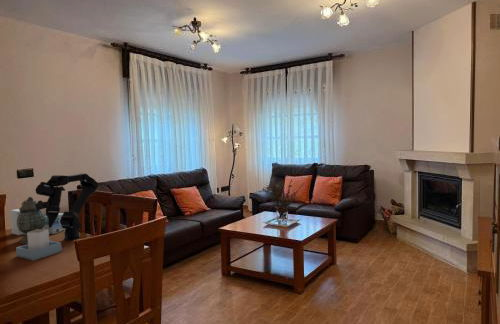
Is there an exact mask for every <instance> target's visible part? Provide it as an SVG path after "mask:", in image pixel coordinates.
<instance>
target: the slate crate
mask: <svg viewBox="0 0 500 324" xmlns="http://www.w3.org/2000/svg"><path fill="white" fill-rule="evenodd" d="M49 244H50V246H47V247H44V248H41V249H37V250H34V251H32V250H28V243H26V244H25V245H20V246H16V248H15V249H16V251H15V252H16V257H18V258H21V259H24V260H25V259H26V260H29V261H33V262H34V261H37V260H39V259H42V258H45V257H49V256H51V255H54V254H55V255H56V254H58V253H62V251H63V250H62V248H63V247H62V242H57V241H53V240H49Z"/></svg>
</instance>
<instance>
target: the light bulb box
mask: <svg viewBox="0 0 500 324" xmlns="http://www.w3.org/2000/svg"><path fill="white" fill-rule="evenodd" d="M63 213H64V212H63ZM63 213H62V212H61V213H60V212H59V215H58V217H57V218H56V220H55V222H54V224H53V225H52V227H51V228H49V221H48V217H47V216H46V215H45V217H46V224H45V226H44V227H43V229H48V230H49V235H54V234H57V233H60V232H63V231H65V229H63V228H62V225H61V223H60V220H61V217H62V215H63ZM62 230H63V231H62Z"/></svg>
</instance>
